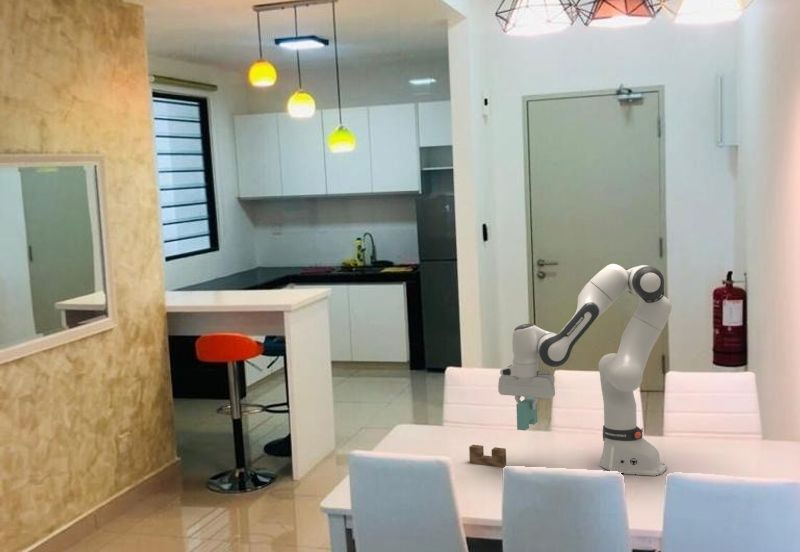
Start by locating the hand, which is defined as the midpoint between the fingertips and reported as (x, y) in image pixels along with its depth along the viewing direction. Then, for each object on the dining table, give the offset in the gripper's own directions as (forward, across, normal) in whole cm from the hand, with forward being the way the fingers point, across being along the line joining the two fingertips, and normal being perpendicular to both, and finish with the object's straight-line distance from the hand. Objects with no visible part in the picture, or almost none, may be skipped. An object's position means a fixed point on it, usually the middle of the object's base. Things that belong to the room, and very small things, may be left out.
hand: (526, 408), depth 302 cm
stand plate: (+21, +14, +3) cm, 25 cm away
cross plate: (+6, 0, 0) cm, 6 cm away
